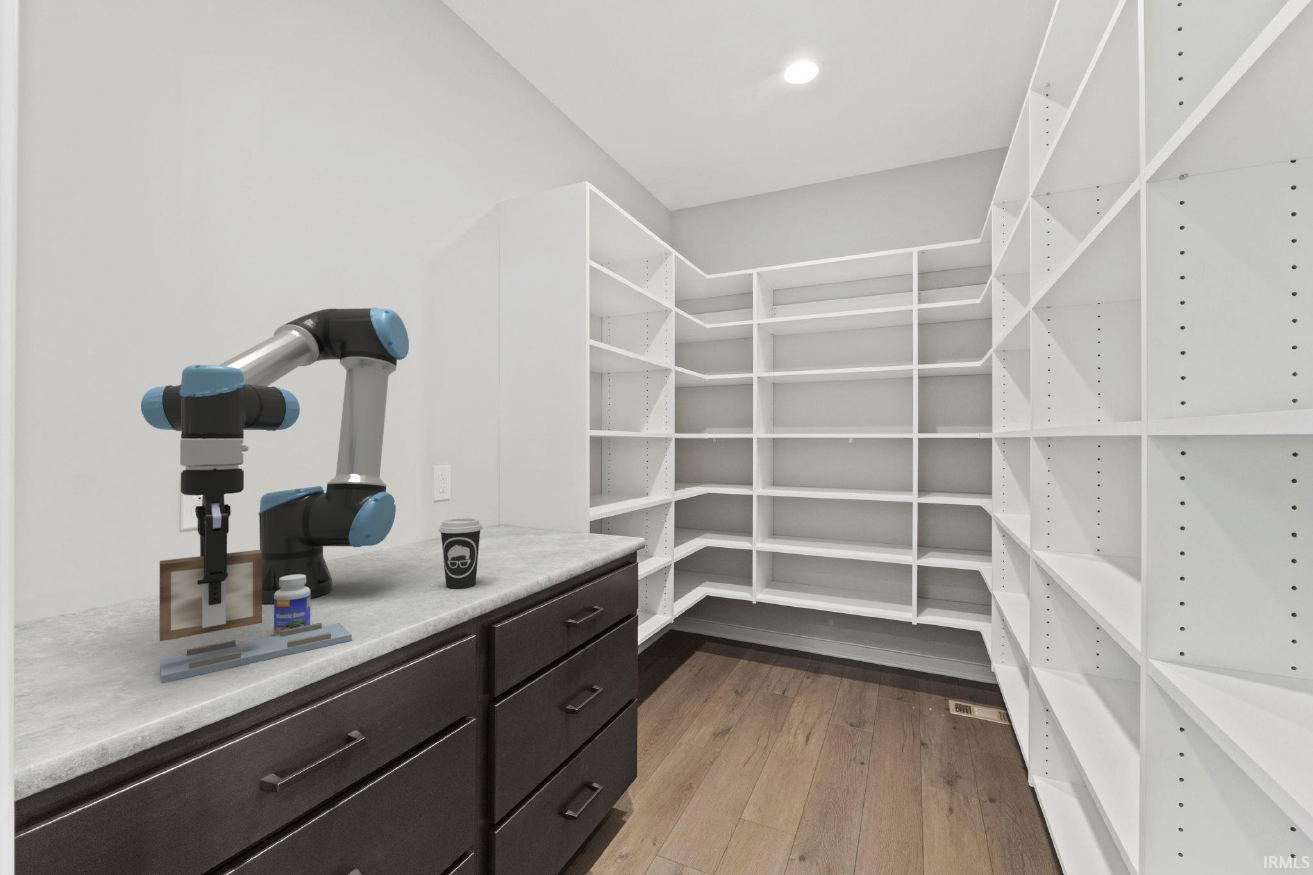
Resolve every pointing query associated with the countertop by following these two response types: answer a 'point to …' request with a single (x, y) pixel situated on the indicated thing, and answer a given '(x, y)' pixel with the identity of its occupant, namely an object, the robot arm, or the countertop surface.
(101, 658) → the countertop surface
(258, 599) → the frame
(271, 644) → the ledge
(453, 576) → the coffee cup
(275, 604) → the pill bottle
